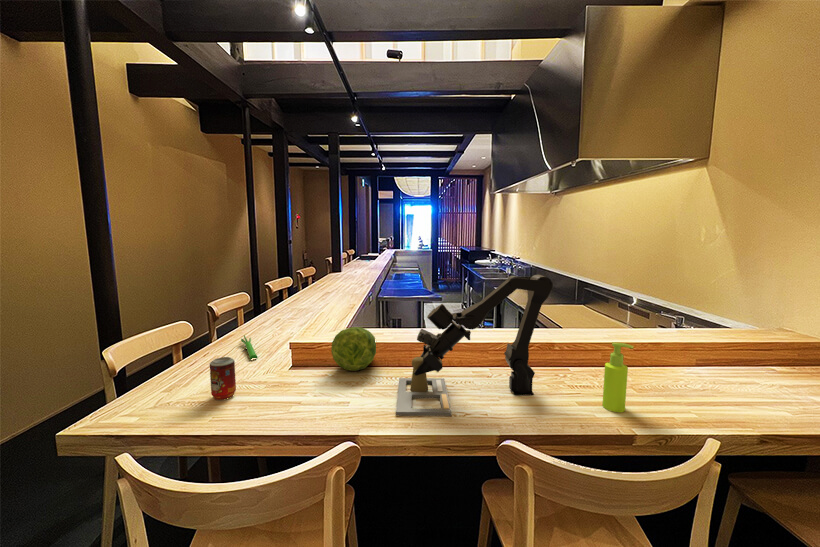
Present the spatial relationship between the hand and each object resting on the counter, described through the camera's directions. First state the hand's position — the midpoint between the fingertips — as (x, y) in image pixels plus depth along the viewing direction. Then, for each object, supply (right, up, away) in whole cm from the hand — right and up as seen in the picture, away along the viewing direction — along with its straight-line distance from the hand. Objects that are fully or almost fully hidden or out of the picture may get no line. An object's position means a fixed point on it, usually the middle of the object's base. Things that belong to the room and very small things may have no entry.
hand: (415, 370), depth 117 cm
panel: (+2, -7, -5) cm, 9 cm away
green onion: (-75, -3, +41) cm, 86 cm away
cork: (+1, -7, +1) cm, 7 cm away
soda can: (-62, -7, -5) cm, 62 cm away
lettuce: (-22, -4, +24) cm, 33 cm away
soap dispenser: (+60, -8, -12) cm, 62 cm away
